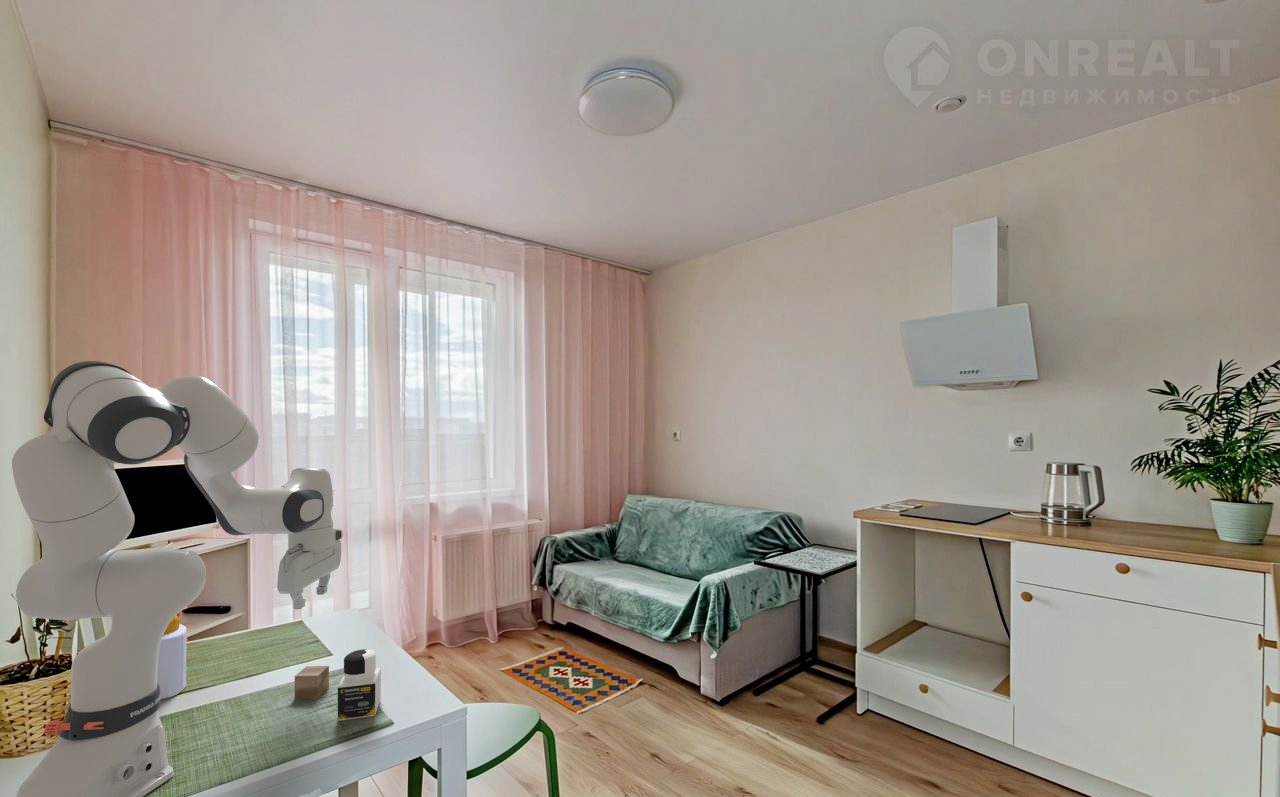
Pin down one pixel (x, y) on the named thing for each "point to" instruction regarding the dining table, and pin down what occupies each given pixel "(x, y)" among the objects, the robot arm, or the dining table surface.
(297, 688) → the walnut cube
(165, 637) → the soap bottle
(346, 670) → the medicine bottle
